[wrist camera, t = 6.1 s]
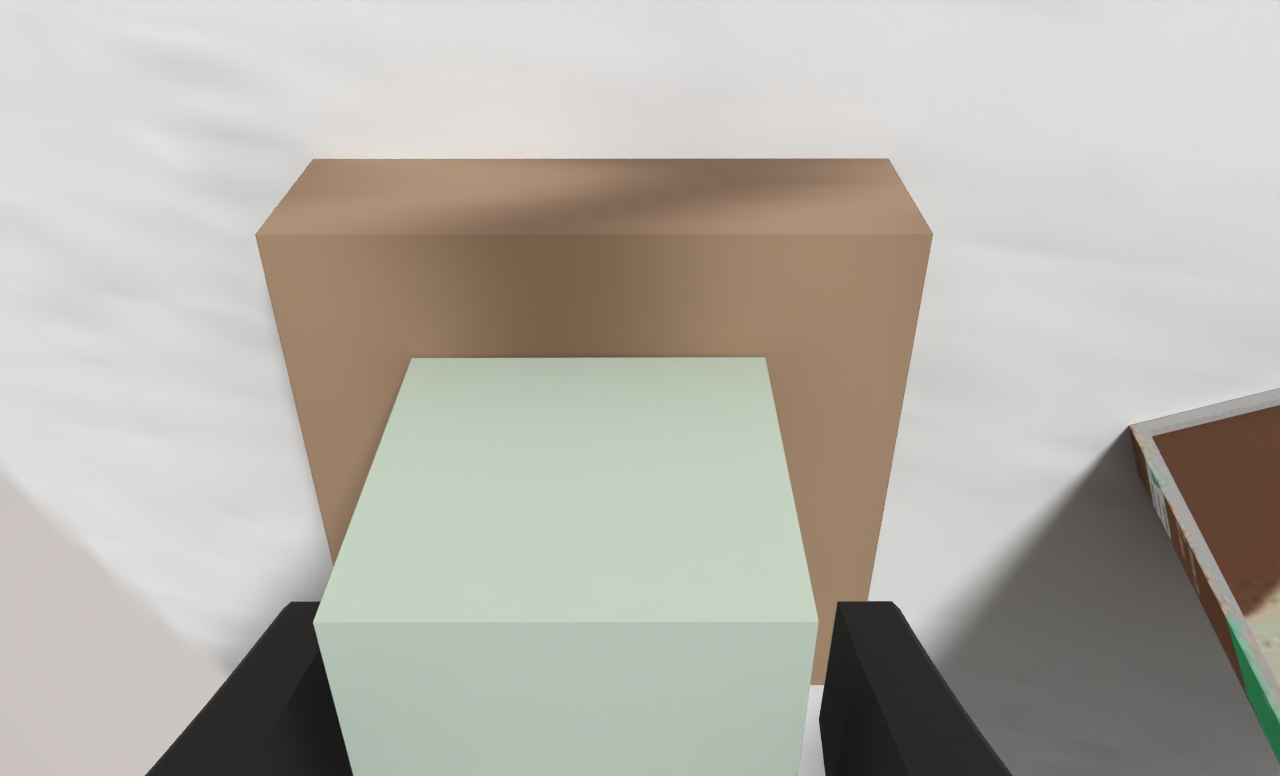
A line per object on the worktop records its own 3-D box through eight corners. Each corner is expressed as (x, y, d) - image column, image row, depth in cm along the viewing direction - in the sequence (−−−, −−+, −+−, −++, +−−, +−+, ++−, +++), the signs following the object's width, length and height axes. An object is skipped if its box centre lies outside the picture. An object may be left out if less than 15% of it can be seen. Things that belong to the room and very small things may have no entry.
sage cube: (764, 357, 12) (818, 620, 9) (745, 609, 15) (780, 900, 11) (411, 357, 13) (313, 622, 9) (449, 609, 15) (385, 900, 11)
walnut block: (880, 145, 14) (932, 233, 12) (823, 557, 19) (851, 684, 16) (323, 146, 14) (255, 234, 12) (399, 557, 19) (362, 686, 16)
